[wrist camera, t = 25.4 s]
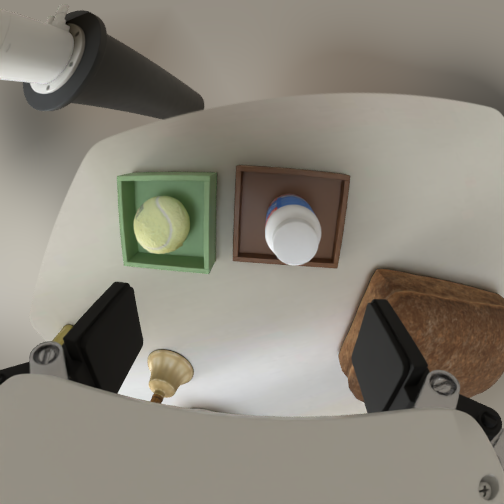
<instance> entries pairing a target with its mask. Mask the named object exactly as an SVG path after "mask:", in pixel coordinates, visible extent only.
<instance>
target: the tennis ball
mask: <svg viewBox="0 0 504 504" xmlns="http://www.w3.org/2000/svg"><path fill="white" fill-rule="evenodd" d="M189 230H190V219H189V215H188V212H187V210H186V209H185V207H184V206H183V204H182V203H181V202H180V201H178V200H177V199H176V198H173V197H170V196H156V197H153V198H150V199H149V200H147V201H146V202H144V203H143V204H142V205H141V206H140V208H139V209H138V211H137V213H136V215H135V218H134V232H135V235H136V238H137V241H138V242H139V243H140V244H141V246H142V247H143V248H144V249H147V250H148V251H149V252H150V253H156V254H164V253H169V252H172V251H175V250H176V249H178V248H179V247H181V246H183V242H184V241H185V239H186V238H187V236H188V233H189Z"/></svg>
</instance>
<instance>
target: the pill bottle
mask: <svg viewBox="0 0 504 504" xmlns="http://www.w3.org/2000/svg"><path fill="white" fill-rule="evenodd" d="M265 237H266V241H267V244H268V246H269V248H270V249H271V250H272V251H273V252H274V253H275V255H276V256H277V257H278V259H279V260H281V261H282V262H284V263H286V264H288V265H302V264H304V263H306V262H308V261H310V260H311V259H312V258H313V257H314V255H315V254H316V252H317V250H318V245H319V242H320V239H321V226H320V223H319V221H318V218H317V217H316V215H315V213H314V212H313V210H312V209H311V207H310V205H309V204H308V203H307V202H306V200H304V199H303V198H302V197H300V196H298V195H294V194H285V195H281V196H279V197H277V198H276V199H274V200H273V201H272V203H271V204H270V206H269V207H268V210H267V214H266V225H265Z"/></svg>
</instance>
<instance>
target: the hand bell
mask: <svg viewBox="0 0 504 504" xmlns="http://www.w3.org/2000/svg"><path fill="white" fill-rule="evenodd" d="M148 367H149V369H150V371H151V377H150V381H149V387H150V389H151V391H152V392H154V394H153V396H152V399H151V401H150V402H154V403H159V404H161V402H162V401H163V398H164V397H166V398H167V397H172V396H173V395H174V394H175V392H176V390H177V389H178V387H179V386H180V385H182V384H185V383H187V382H189V381H190V380H191V379H192V377H193V368H192V366H191V364H190V363H189V362H188V361H187V360H186V359H185V358H184V357H182V356H181V355H179V354H177V353H175V352H172V351H169V350H156V351H154V352H152V353H151V354H150V355H149V356H148Z"/></svg>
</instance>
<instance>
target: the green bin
mask: <svg viewBox="0 0 504 504" xmlns="http://www.w3.org/2000/svg"><path fill="white" fill-rule="evenodd" d="M117 189H118V209H119V223H120V235H121V245H122V254H123V261H124V266H131V267H141V268H150V269H161V270H171V271H182V272H193V273H204V274H209V273H210V271H211V269H212V267H213V265H214V262H215V242H216V189H217V173H215V172H137V173H129V174H124V175H120V176H117ZM156 196H170V197H173V198H176V199H177V200H178V201H180V202H181V203H182V204H183V206H184V207H185V209H186V210H187V212H188V215H189V219H190V230H189V233H188V236H187V238H186V239H185V241H184V242H183V246H181V247H179V248H178V249H176V250H175V251H172V252H169V253H164V254H156V253H150V252H149V251H148V250H147V249H144V248H143V247H142V246H141V244H140V243H139V242H138V241H137V238H136V235H135V232H134V218H135V215H136V213H137V211H138V209H139V208H140V206H141V205H142V204H143V203H144V202H146V201H147V200H149V199H150V198H153V197H156Z"/></svg>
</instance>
